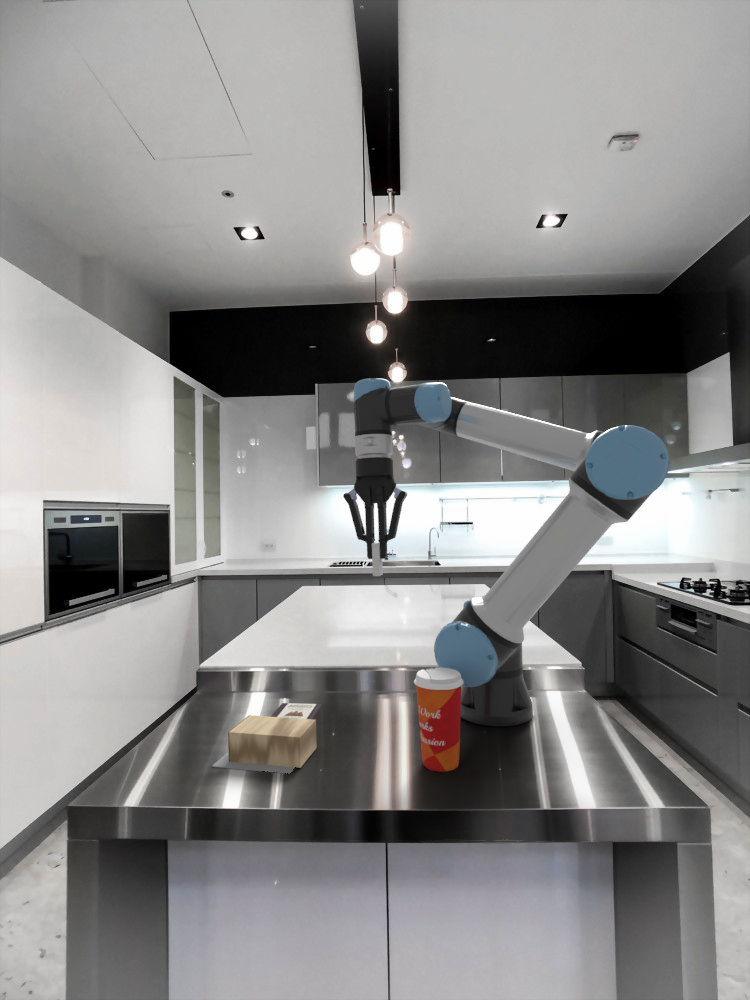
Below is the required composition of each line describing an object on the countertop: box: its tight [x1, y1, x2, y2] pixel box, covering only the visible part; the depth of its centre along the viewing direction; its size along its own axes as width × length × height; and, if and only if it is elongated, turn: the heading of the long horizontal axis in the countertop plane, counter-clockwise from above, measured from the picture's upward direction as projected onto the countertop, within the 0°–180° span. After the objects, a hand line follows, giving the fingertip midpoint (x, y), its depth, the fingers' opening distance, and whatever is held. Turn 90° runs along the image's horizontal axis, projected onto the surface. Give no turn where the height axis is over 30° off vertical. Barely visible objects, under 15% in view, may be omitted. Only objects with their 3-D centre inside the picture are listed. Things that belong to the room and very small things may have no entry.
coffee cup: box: [413, 667, 464, 773], centre depth 96 cm, size 8×8×15 cm
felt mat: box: [211, 750, 296, 775], centre depth 101 cm, size 14×12×1 cm
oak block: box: [227, 714, 318, 769], centre depth 100 cm, size 5×8×13 cm
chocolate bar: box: [270, 702, 323, 720], centre depth 117 cm, size 9×1×18 cm
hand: (377, 575), depth 115 cm, fingers closed
